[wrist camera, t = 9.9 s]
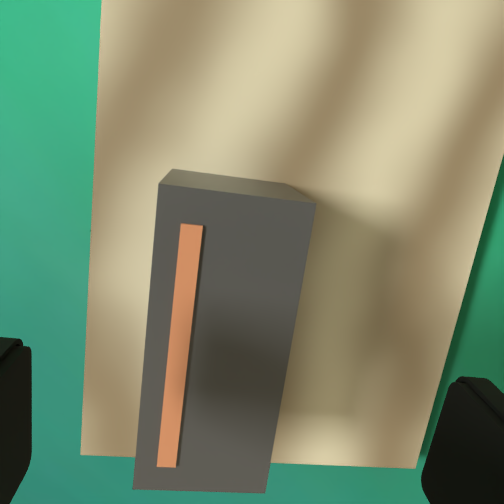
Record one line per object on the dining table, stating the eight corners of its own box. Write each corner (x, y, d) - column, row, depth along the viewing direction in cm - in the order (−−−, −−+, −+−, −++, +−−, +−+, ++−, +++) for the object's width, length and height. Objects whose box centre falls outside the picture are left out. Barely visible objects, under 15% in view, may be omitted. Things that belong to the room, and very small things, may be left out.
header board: (546, -75, 17) (673, -152, 12) (404, 451, 23) (454, 530, 18) (118, -176, 14) (79, -317, 10) (87, 436, 20) (54, 522, 16)
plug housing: (285, 183, 17) (317, 204, 12) (250, 404, 19) (265, 495, 15) (172, 168, 16) (158, 183, 11) (151, 398, 19) (132, 491, 14)
